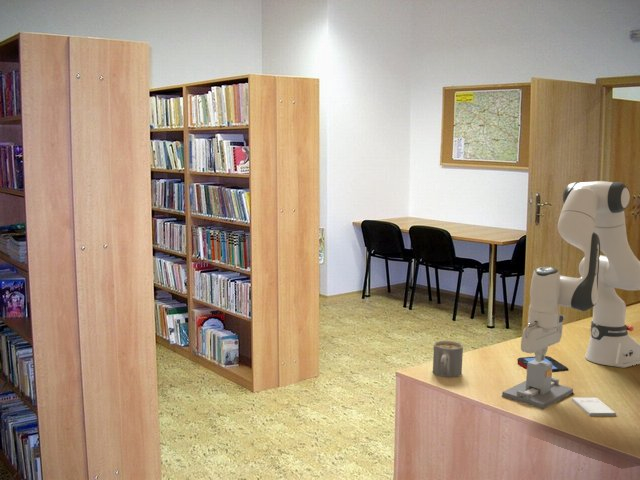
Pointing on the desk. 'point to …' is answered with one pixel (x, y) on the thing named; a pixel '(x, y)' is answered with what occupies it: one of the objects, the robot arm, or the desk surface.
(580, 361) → the desk surface
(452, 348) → the coffee mug
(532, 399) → the rail mount
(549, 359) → the game console
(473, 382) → the desk surface
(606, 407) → the external hard drive
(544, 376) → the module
